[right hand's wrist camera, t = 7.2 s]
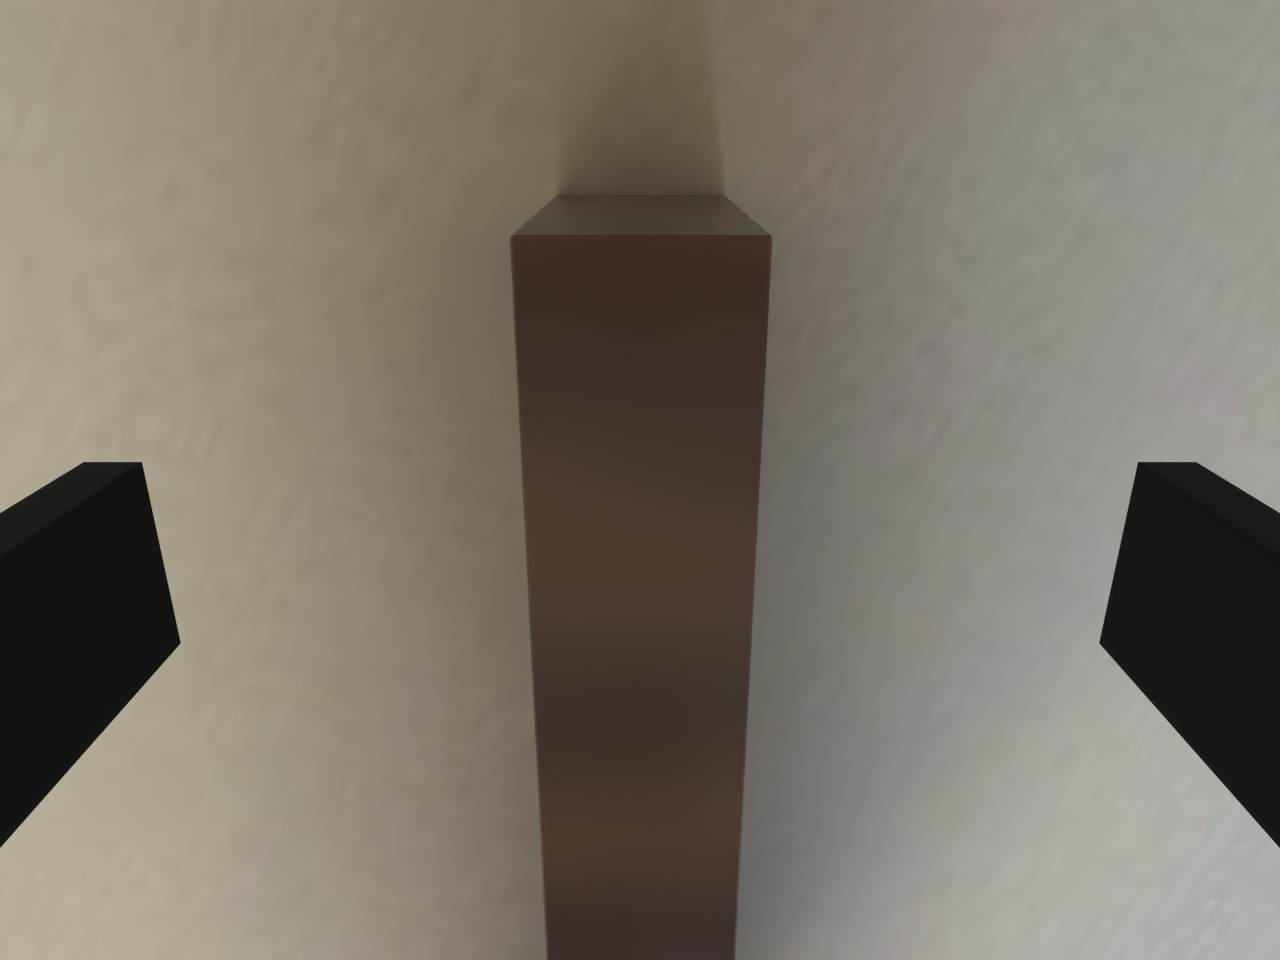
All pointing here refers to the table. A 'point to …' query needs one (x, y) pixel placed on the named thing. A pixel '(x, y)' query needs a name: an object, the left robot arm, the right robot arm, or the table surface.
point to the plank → (641, 560)
